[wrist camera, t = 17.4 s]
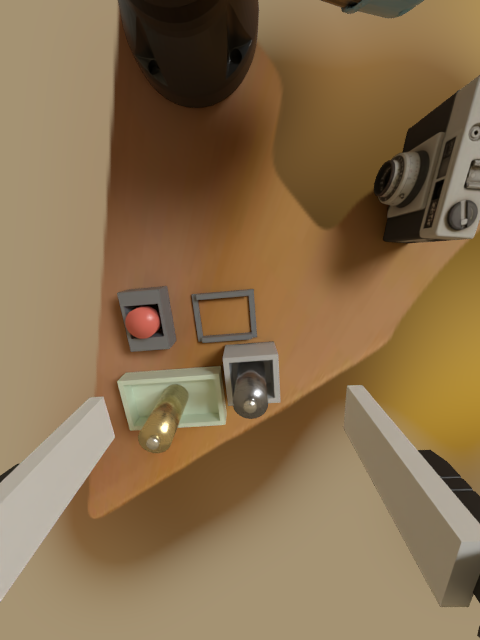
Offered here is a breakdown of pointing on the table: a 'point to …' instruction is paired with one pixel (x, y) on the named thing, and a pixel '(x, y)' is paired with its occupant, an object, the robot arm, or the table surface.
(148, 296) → the button housing
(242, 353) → the bin
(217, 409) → the trough
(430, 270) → the table surface
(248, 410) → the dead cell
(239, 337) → the empty grey frame
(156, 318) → the button
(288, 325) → the table surface
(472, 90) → the camera
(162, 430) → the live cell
